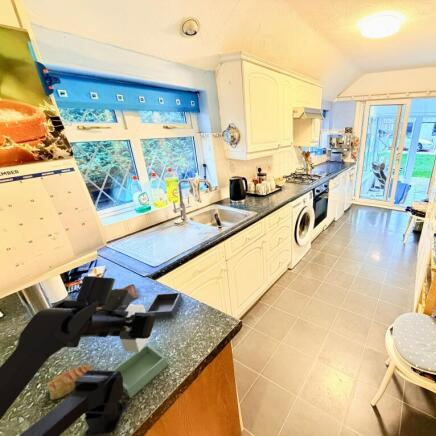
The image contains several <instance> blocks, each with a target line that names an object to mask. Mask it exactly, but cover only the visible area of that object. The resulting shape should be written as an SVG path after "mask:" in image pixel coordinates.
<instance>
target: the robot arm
mask: <svg viewBox="0 0 436 436" xmlns="http://www.w3.org/2000/svg"><path fill="white" fill-rule="evenodd" d="M115 282H116V278H114V277H100V276H93V275H85V276H83V279H82V282H81V286H80V289H79V291H78V294H77V297H76V299H63V300H61V301H59V302H58V303H56V304H54V305H52V306H51V307H48V308H44V309H43V308H42V309H41V310H39V311H38V312H36V313H35V314H34V315H33V316H32V318H31V319H30V320H29V321H28V323H27V324H26V325H25V327H24V328H23V329H22V330H21V332H20V334H19V338H18V341H17V346H16V347H15V349H14V351H13V352H12V353H11V355H10V356H8V358H7V359H6V360H5V361H4V362H3V363H2V364H1V365H0V420H2V419H3V417H4V415H5V414H6V413H7V412H8V410H9V409H10V408H11V407H12V405H13V404H14V403H15V402H16V401H17V399H18V397H19V396H20V395H21V394H22V392H23V391H24V390H25V389H26V387H27V386H28V384H29V383H30V382H31V381H32V379H33V378H34V377H35V376H36V375H37V373H38V372H39V370H41V368H42V366H43V365H44V364H45V363H46V362H47V361H48V360H49V358H51V356H53V355H54V354H56V353H58V352H59V351H60V350H62V349H64V348H69V349H70V348H71V349H76V348H78V347H79V345H80V341H81V338H93V337H95V338H97V337H98V338H108V337H119V335H120V332H121V331H126V330H127V327H128V328H130V329H129V330H130V331H129V334H128V337H131V338H139V339H146V338H149V337H150V335H151V334H152V331H153V329H154V325H155V320H156V318H155V317H156V315H155V313H144V312H138V313H137V312H135V315H131V316H130V317H125V316H127V315H128V312H129V311H125V310H126V309H127V308H128V306H129V304H131V302H132V301H133V300H134V299H133V298H134V295H133V294H132V293H131V292H129V291H128V290H127V289H121V288H114V285H115ZM113 288H114V289H113ZM97 307H102V309H97ZM126 321H130V322H126ZM124 326H127V327H126V328H125V327H124ZM123 396H124V392H123V377H122V375H121V372H120V371H112V370H109V369H107V370H106V369H91V370H88V371H87V372H86V373H85V374H84V375H83V376H81V377H80V378H78V379H76V380H75V387H74V389H73V390H72V391H71V394H70V395H69V396H67V398H66V399H64V400H63V401H62V402H61V403H59V404H58V405H56V406H55V407H54V408H52V409H51V410H50V411H49V412H47V414H45V415H44V416H42V417H41V418H40V419H39V420H38V421H36V422H35V423H33V424H32V425H31V426H30V427H28V428H27V429H26V430H24V431H23V432H22V433H21V434H20V435H19V436H61V435H62V434H63V433H65V431H66V430H68V429H69V428H70V427H71V426H72V425H74V423H76V421H78V420H79V419H80V418H81V417H82V416H83V415H85V417H84V421H85V423H86V425H87V429H86V431H85V433H84V436H99V435H106V434H112V433H114V432H115V431H116V428H117V427H118V424H119V422H120V421H121V418H122V415H123V414H124V411H125V409H126V407H127V403H126V402H120V400H121V399H122V397H123Z"/></svg>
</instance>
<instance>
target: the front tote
mask: <svg viewBox="0 0 436 436" xmlns="http://www.w3.org/2000/svg"><path fill="white" fill-rule="evenodd" d="M167 366H168V361H167V357H165V356H164V355H163V354H162V353H160V352H159V351H157V349H155V348H154V347H153V346H151V345H150V344H148V343H146V344H145V345H144V347H143V348H142V349H141V351H140V352H133V354H131V355H130V356H129V357H127V359H125V360H124V361H122V362H121V363H120V364H118V365H117V366H116V367H115V368H113V369H111V371H120V372H121V375H122V377H123V394H125V395H126V396H127V397H128V398H129V399H132V398H133V397H134V396H135V395H136V394H137V393H138V392H139V391H141V389H142V388H144V387H145V386H146V385H147V384H148V383H149V382H151V381H152V380H153V379H154V378H155V377H156V376H157V375H159V373H161V371H163V370H164V369H165V368H166V367H167Z"/></svg>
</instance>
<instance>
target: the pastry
mask: <svg viewBox="0 0 436 436" xmlns="http://www.w3.org/2000/svg"><path fill="white" fill-rule="evenodd" d="M88 370H92V367H91V366H90V365H89V364H87V365H85V364H84V365H81V366H77V367H74V368H71V369H69V370H66V371H63V372H62V373H61V374H60V375H59V374H58V375H56V376H54V377H53V379H52V380H51V381H48V382H47V383H46V387H47V390H48V392H49V395H50V396H49V398H50V400H52V401H53V400H56V399H61V398H63V397H65V396H66V395H68V394H70V393H72V392H73V389H74V387H75V380H76V379H78V378H80V377H81V376H83V375H84V374H85V373H86V372H87V371H88Z"/></svg>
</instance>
